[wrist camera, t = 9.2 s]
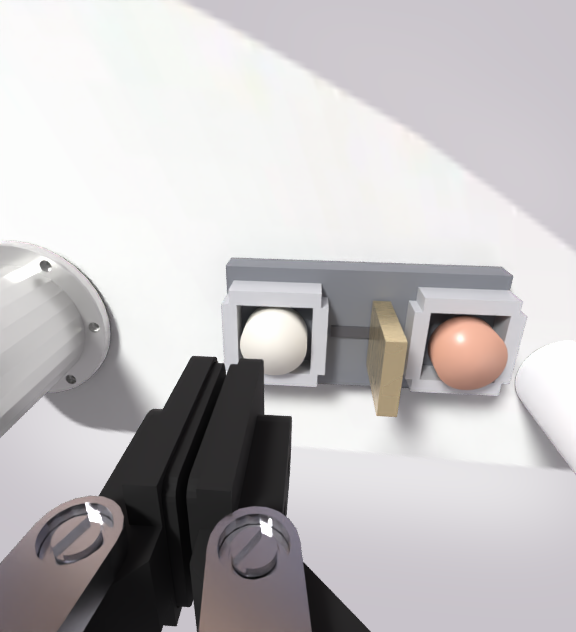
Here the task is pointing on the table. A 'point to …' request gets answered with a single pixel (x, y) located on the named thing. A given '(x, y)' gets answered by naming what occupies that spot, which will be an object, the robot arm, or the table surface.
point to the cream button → (275, 339)
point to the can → (552, 394)
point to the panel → (369, 314)
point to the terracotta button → (467, 353)
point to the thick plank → (385, 358)
